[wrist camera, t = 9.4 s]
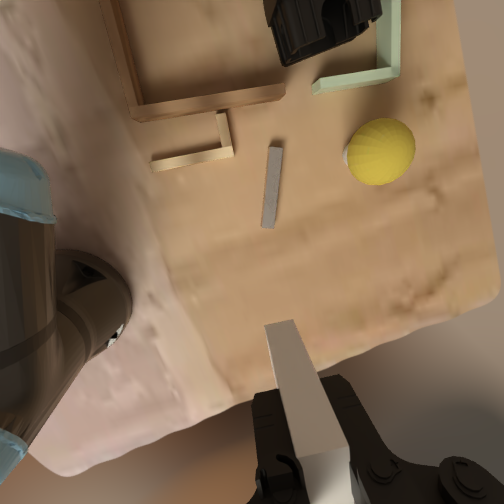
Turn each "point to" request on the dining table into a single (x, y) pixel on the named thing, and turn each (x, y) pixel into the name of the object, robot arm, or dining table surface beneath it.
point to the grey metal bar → (271, 187)
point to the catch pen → (386, 55)
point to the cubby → (174, 107)
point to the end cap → (316, 25)
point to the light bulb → (380, 151)
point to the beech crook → (200, 156)
